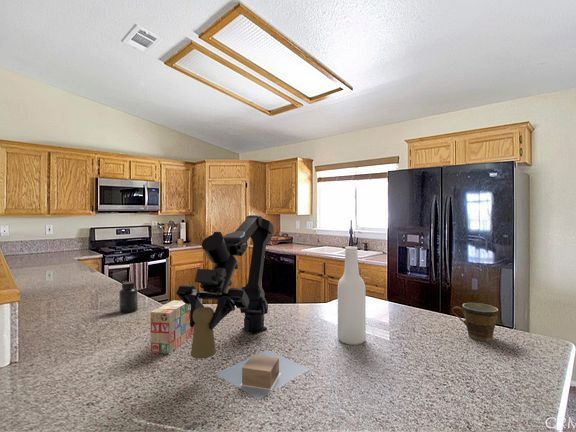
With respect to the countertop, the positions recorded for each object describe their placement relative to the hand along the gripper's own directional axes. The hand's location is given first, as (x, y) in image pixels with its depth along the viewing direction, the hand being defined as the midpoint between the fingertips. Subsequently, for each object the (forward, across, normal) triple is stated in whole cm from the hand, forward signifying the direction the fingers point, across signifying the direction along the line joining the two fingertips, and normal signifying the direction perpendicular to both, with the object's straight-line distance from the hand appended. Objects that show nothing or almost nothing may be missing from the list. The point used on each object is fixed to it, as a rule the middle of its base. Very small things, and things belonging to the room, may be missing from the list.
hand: (200, 327), depth 75 cm
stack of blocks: (-5, -21, +25) cm, 33 cm away
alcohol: (-15, +34, +34) cm, 50 cm away
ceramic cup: (-24, +72, +43) cm, 88 cm away
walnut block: (+6, +14, +12) cm, 19 cm away
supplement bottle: (-19, -59, +39) cm, 74 cm away
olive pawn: (+4, 0, +6) cm, 7 cm away
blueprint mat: (+4, +13, +15) cm, 20 cm away
